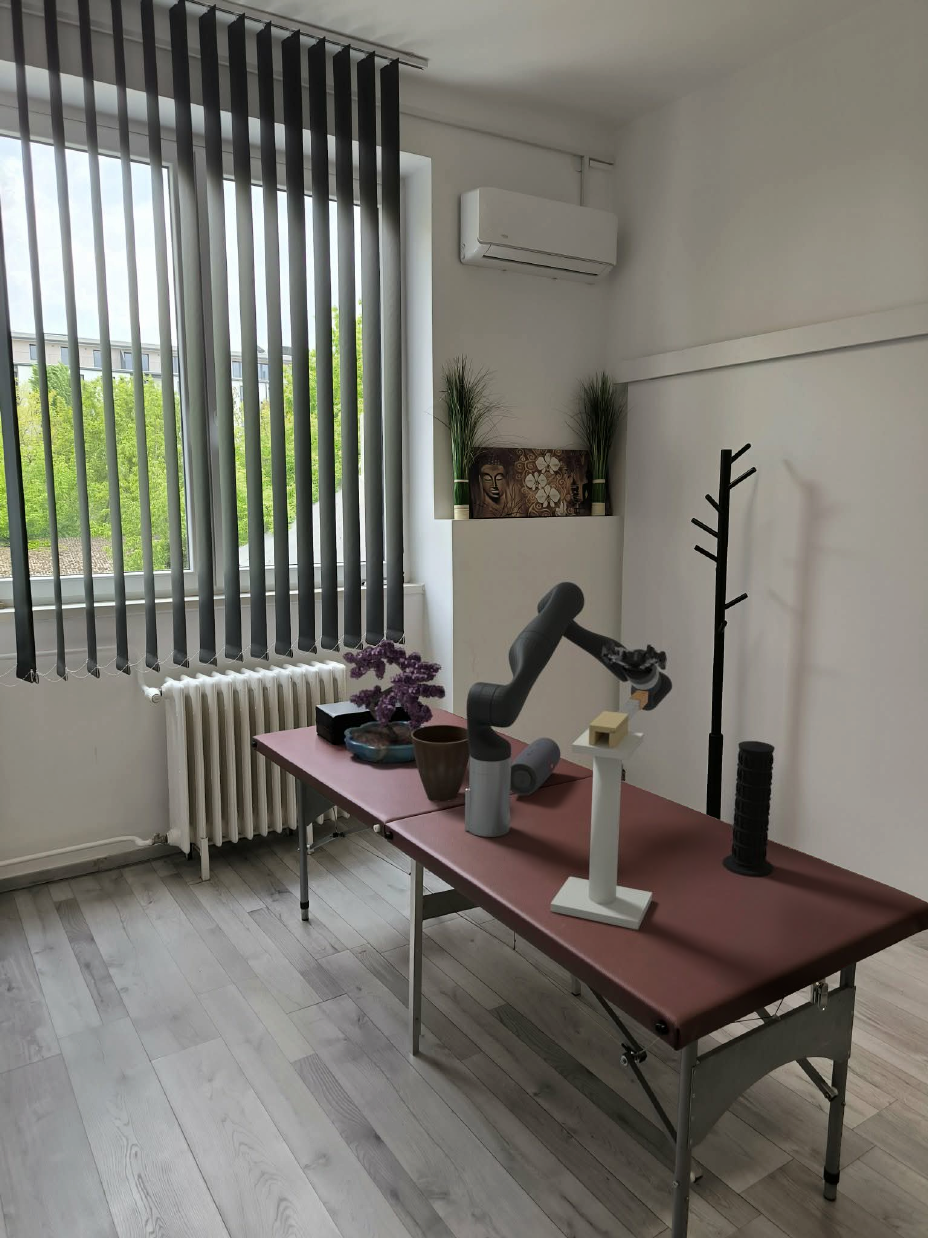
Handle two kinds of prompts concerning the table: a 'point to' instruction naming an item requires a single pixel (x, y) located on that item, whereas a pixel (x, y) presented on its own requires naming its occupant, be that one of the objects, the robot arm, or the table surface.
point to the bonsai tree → (391, 703)
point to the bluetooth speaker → (534, 766)
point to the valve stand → (605, 830)
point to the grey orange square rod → (634, 703)
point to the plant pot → (441, 759)
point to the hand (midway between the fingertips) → (628, 646)
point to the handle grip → (752, 810)
